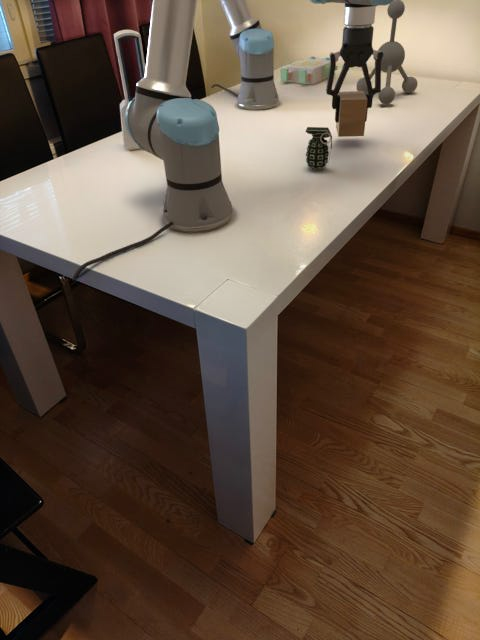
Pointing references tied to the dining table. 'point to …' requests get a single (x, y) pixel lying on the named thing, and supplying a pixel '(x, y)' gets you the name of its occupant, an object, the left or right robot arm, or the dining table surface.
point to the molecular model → (391, 59)
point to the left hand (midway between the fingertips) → (350, 120)
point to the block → (352, 114)
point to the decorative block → (306, 70)
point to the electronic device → (123, 106)
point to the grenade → (318, 147)
